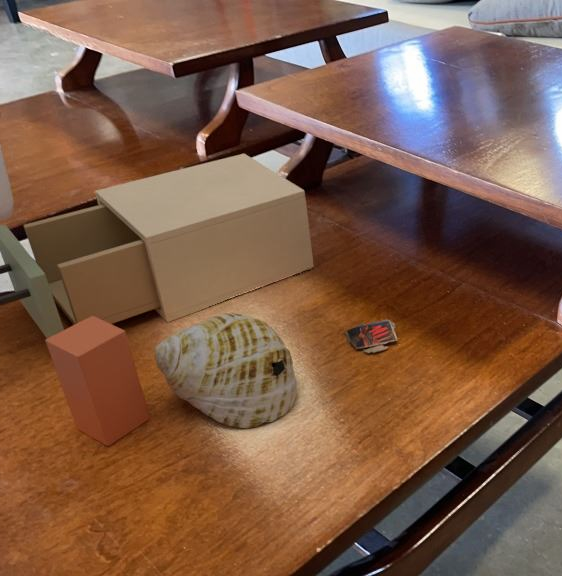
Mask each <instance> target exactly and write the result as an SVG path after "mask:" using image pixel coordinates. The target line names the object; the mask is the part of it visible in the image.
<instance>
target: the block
mask: <svg viewBox="0 0 562 576" xmlns="http://www.w3.org/2000/svg"><path fill="white" fill-rule="evenodd" d="M45 344H46V346H47V350H48V352H49V355H50V357H51V361H52V363H53V366H54V369H55V371H56V374H57V378H58V380H59V383H60V386H61V389H62V391H63V395H64V397H65V400H66V403H67V405H68V407H69V411H70V414H71V417H72V419H73V422H74V425H75V427H76V430H78V431H80V432H82V434H83V433H84V434H85V435H87V436H88V437H90V438H92V439H94V440H95V441H97V442H99V443H101V444H102V445H104V446H106V447H109V446H112V445H113V444H114V443H116V442H118V441H119V440H120V439H122V438H123V437H125V436H126V435H128V434H130V433H131V432H133V431H134V430H135V429H137V428H139V427H140V426H141V425H143V424H145V423H146V422H147V421H149V420H150V419H151V416H150V413H149V409H148V406H147V402H146V399H145V395H144V392H143V389H142V384H141V382H140V378H139V374H138V371H137V368H136V367H137V366H136V363H135V361H134V357H133V354H132V350H131V346H130V343H129V340H128V336H127V333H126V331H125V329H123V328H120V327H118V326H116V325H114V324H110V323H107V322H105V321H103V320H101V319H99V318H97V317H95V316H91V317H89V318H87V319H85V320H83V321H81V322H79V323H77V324H75V325H73V324H72V325H71V326H69V327H67V328H66V329H65V328H64V330H63V331H61V332H59V333H58V334H56V335H54V336H52V337H50V338H48V339H47V338H46V339H45Z"/></svg>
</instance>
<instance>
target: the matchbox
mask: <svg viewBox="0 0 562 576" xmlns="http://www.w3.org/2000/svg"><path fill="white" fill-rule="evenodd" d="M395 325H396V324H395V323H394V322H393V321H392V320H390V319H387V318H385V319H383V320H376V321H373V322H369V323H365V324H363V323H361V324H359V325H356V326H354V327H352V328H349V329H346V330H345V331H346V332H345V333H346V337H347V339H346V340H347V341H349V343H350V344H351V345H352V346H353V347H354V349H356V350H357V349H363V352H365V353H366V354H371V353H372V354H375V353H378V352H381V351H384V350H387V349H388V348H389V346H388V345H386V344H388V343H394V342H395V341H398V337H397V336H398V335H396V332H395V328H396V326H395ZM385 345H386V346H385ZM366 348H367V349H366Z"/></svg>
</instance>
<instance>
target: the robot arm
mask: <svg viewBox="0 0 562 576" xmlns="http://www.w3.org/2000/svg"><path fill="white" fill-rule="evenodd" d="M1 117H2V114H1V112H0V118H1ZM1 145H2V144H1V143H0V221H5V220H8V219H10V218H12V216H14V208H15V207H14V205H15V204H14V197H13V191H12V188H11V183H10V182H11V181H10V179H9V174H8V170H7V166H6V161H5V157H4V153H3V148H2V146H1Z"/></svg>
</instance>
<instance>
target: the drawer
mask: <svg viewBox="0 0 562 576" xmlns="http://www.w3.org/2000/svg"><path fill="white" fill-rule="evenodd" d="M23 228H24V231H25V234H26V237H27V240H28V243H29V247H30V249H31V252H32V255H33V256H31V255H30V253H29V252H28V251H27V250H26V248H25V247H24V246H23V245H22V243H21V242H20V241H19V240H18V238H17V237H16V236H15V235H14V233H13V231H11V230H10V228H9V227H8V226H7V224H3V225H0V254H1V258H2V261H3V263H4V264H2V265H0V275H3V274H8V277H9V279H10V282H11V285H12V288H13V290H14V292H11V293H7V294H4V295H1V296H0V307H1V306H4V305H7V304H10V303H14V302H17V301H19V302H20V303H21V305H22V306H23V307H24V309H25V310H26V311H27V313H28V314H29V316H30V317H31V318H32V320H33V321H34V324H36V325H37V327H38V328H39V330H40V331H41V332H42V334H43V335H44V337H45V338H46V339H48V338H50V337H52V336H54V335H56V334H58V333H59V332H61V331H63V330H65V328H64V326H63V322H62V320H61V317H60V314H59V311H58V309H57V306H58V307H59V308H60V310H61V311H62V312H63V313H64V315H65V316H66V317H67V318H68V319H69V321H70V322H71V323H72V326H73V325H75V324H77V323H79V322H81V321H83V320H85V319H87V318H89V317H91V316H95V317H97V318H99V319H101V320H103V321H105V322H107V323H110V324H112V325H114V324H115V323H118V322H121V321H125V320H127V319H129V318H132V317H136V316H138V315H141V314H144V313H146V312H150V311H153V310H155V308H158V307H161V305H160V301H159V297H158V293H157V289H156V285H155V282H154V278H153V274H152V270H151V266H150V262H149V258H148V254H147V250H146V246H145V241H143V240H142V239H141V238H140V237H139V236H138V235H137V234H136V233H135V232H134V231H133V230H131V229H130V228H129V227H128V226H127V225H126V224H125V223H124V222H123V221H122V220H121V219H120V218H118V217H117V216H116V215H115V214H114V213H113V212H112V211H111V210H110V209H109V208H108V207H107V206H105V205H104V204H102V205H98V204H97V205H93V206H91V207H87V208H82V209H80V210H75V211H71V212H68V213H64V214H60V215H56V216H52V217H47V218H45V219H41V220H37V221H33V222H29V223H25V224H23ZM33 257H34V258H33ZM56 304H57V305H56Z"/></svg>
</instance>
